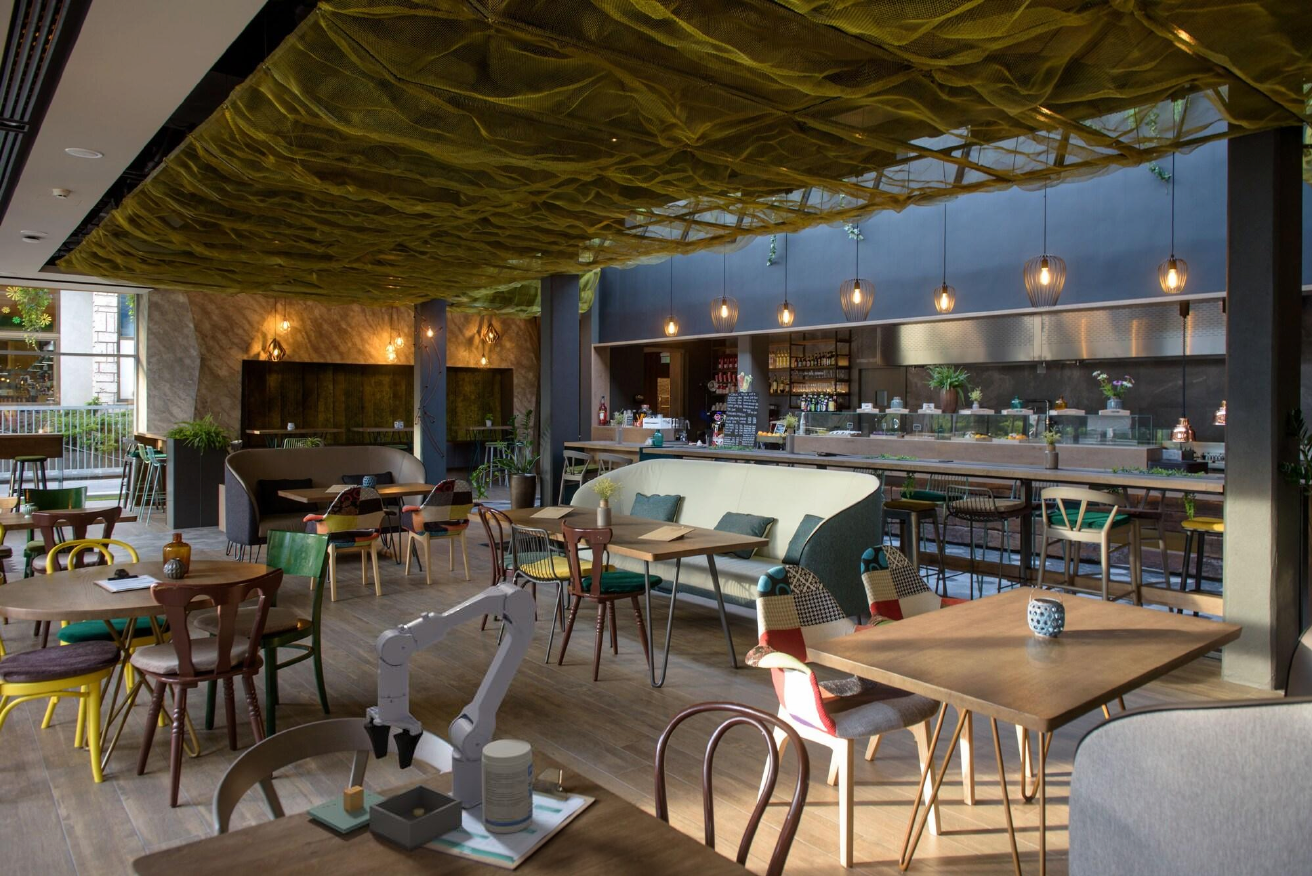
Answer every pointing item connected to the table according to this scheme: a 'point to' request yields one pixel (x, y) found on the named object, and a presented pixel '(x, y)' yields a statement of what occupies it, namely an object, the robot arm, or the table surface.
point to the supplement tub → (507, 786)
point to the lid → (346, 809)
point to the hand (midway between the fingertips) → (393, 762)
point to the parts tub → (415, 816)
